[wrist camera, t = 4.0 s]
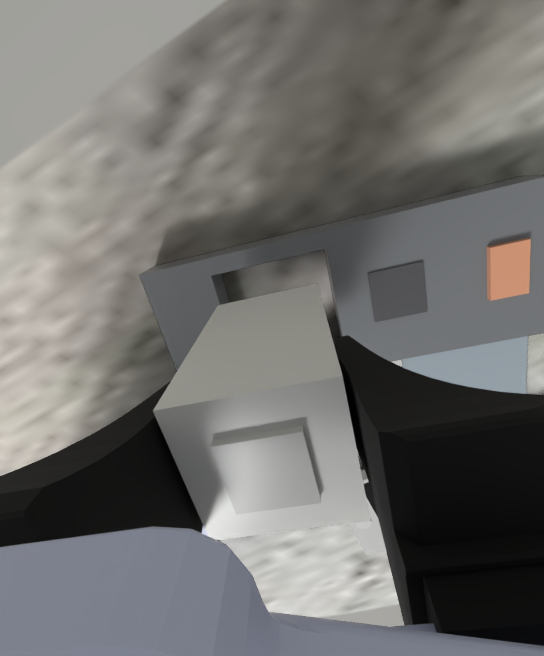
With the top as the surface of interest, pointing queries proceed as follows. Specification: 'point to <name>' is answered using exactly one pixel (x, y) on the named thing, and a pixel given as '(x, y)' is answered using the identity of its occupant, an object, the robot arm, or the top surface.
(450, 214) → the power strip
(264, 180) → the top surface
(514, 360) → the sticky note
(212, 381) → the charger plug
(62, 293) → the top surface
